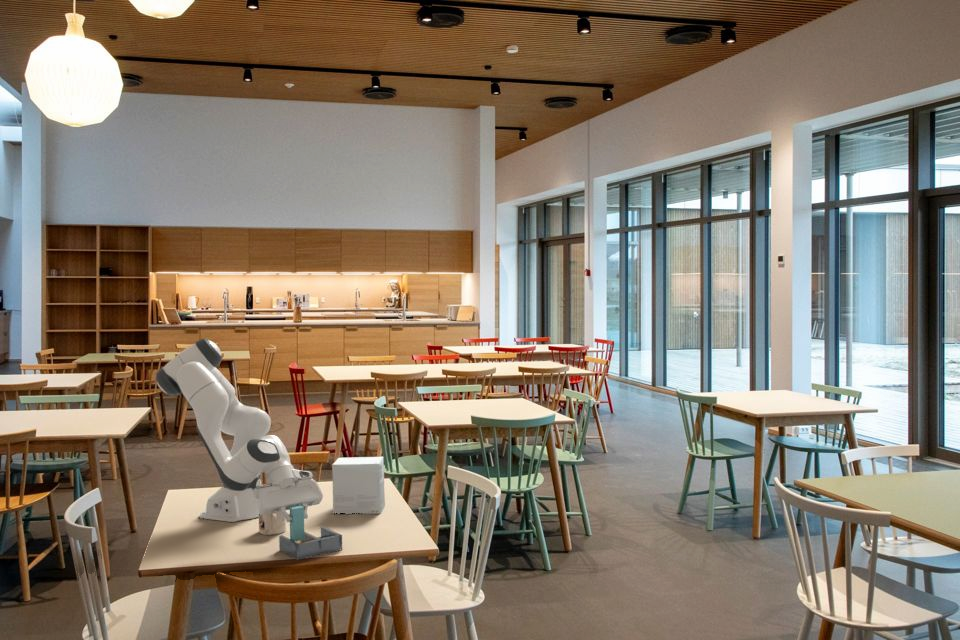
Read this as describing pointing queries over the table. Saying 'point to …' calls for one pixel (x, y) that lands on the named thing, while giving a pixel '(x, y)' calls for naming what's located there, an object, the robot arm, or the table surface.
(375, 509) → the supplement box
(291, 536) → the teal rectangular block
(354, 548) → the table surface
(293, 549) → the rack
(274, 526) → the teacup with lid
